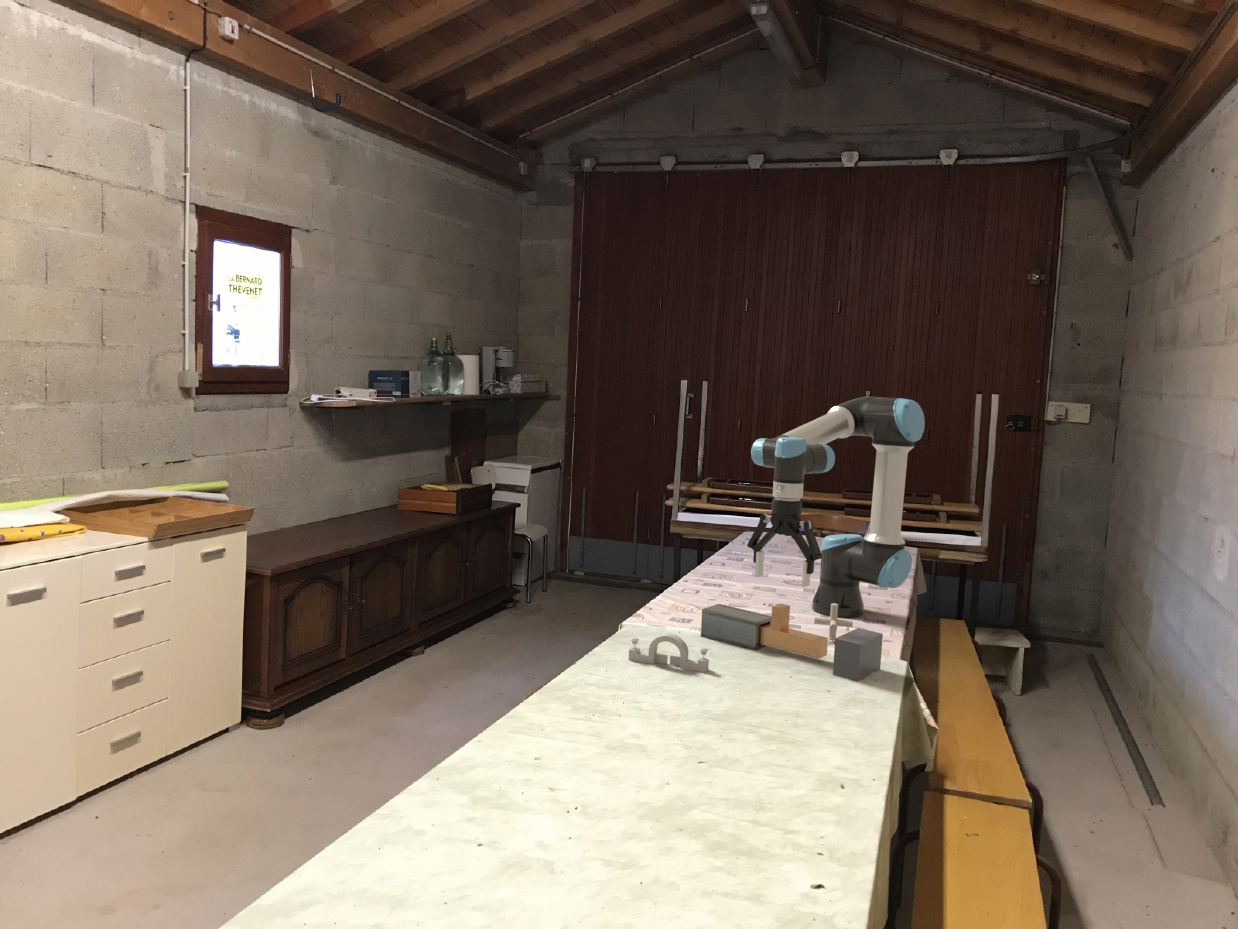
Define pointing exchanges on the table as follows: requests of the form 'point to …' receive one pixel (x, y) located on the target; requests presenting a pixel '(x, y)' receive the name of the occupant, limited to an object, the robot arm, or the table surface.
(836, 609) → the cream cross joint
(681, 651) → the gateway
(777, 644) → the orange-brown sliding bolt
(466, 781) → the table surface
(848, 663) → the socket block
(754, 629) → the sleeve
